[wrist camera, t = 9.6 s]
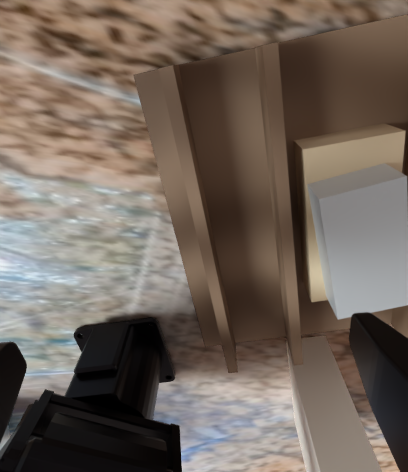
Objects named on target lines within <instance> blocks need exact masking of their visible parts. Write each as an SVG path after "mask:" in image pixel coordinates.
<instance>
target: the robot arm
mask: <svg viewBox="0 0 408 472" xmlns="http://www.w3.org/2000/svg"><path fill="white" fill-rule="evenodd" d="M149 324H152V325H153V326H152V325H149ZM81 334H82V335H81ZM74 338H75V340H76V342H77V344H78V346H79V348H80V350H81V352H82V354H81V356H80V358H79V360H78V362H77V365H76V367H75V369H74V373H75V374H74V376H73V378H72V381H71V383H70V385H69V388H68V390H67V392H66V394H65V396H62V395H58V394H54V392H53V391H50V390H46V389H45V391H44V392H43V394H42V396H41V397H40V399H39V401H38V400H36V401H35V402H34V404H31V405H29V406H28V408H27V410H26V411H25V413H24V415H23V417H22V419H21V421H20V423H19V424H18V426H17V428H16V429H15V431H14V433H13V434H12V435H11V437H10V438H9V439H8V441H7V442H6V443H5V445H4V446H3V447H2V449H1V450H0V472H182V466H181V447H180V428H179V425H175V424H172V423H171V424H170V425H169V424H166V423H162V422H158V421H154V420H153V415H154V409H155V403H156V397H157V391H158V385H159V383H162V382H170V381H173V380H174V379H175V371H174V368H173V365H172V362H171V359H170V356H169V353H168V350H167V347H166V344H165V341H164V338H163V335H162V332H161V329H160V326H159V323H158V321H157V320H156V319H154V318H145V319H138V320H131V321H123V322H116V323H109V324H102V325H94V326H87V327H80V328H77V329H76V331H75V333H74ZM349 341H350V346H351V349H352V352H353V355H354V358H355V361H356V365H357V368H358V371H359V374H360V377H361V380H362V383H363V386H364V389H365V392H366V395H367V398H368V400H369V403H370V406H371V408H372V411H373V413H374V415H375V418H376V420H377V422H378V424H379V426H380V429H381V431H382V433H383V435H384V437H385V439H386V442H387V444H388V446H389V448H390V450H391V453H392V455H393V457H394V459H395V461H396V464H397V466H398V468H399V470H400V472H408V338H407V337H406V336H404V335H403V334H401V333H400V332H398V331H397V330H395V329H394V328H392V327H391V326H389V325H388V324H387V323H385V322H384V321H382V320H381V319H379V318H378V317H376V316H375V315H373V314H372V313H370V312H361V313H354V314H352V316H351V323H350V334H349ZM26 368H27V364H26V361H25V359H24V357H23V355H22V354H21V352H20V350H19V348H18V346H17V345H16V344H15V343H14V342H1V343H0V443H1V440H2V438H3V436H4V433H5V431H6V428H7V426H8V423H9V420H10V418H11V415H12V412H13V409H14V406H15V403H16V400H17V397H18V394H19V391H20V388H21V385H22V382H23V379H24V376H25V373H26Z"/></svg>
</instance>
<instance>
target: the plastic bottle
mask: <svg viewBox="0 0 408 472" xmlns="http://www.w3.org/2000/svg"><path fill="white" fill-rule="evenodd" d="M9 438H10V430H9V426H7V428H6V431H5V433H4V436H3V438H2V440H1V443H0V450H1V449H2V447H3V446H4V445H5V443H6V442H7V441H8V439H9Z"/></svg>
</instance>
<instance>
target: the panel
mask: <svg viewBox="0 0 408 472" xmlns="http://www.w3.org/2000/svg"><path fill="white" fill-rule="evenodd" d="M301 341H302V354H303V365H295V366H294V365H293V361H292V357H291V353H290V350H289V346H288V342H287V340H286V348H287V357H288V366H289V375H290V384H291V393H292V402H293V411H294V419H295V424H296V429H297V433H298V437H299V442H300V446H301V450H302V455H303V459H304V463H305V468H306V472H382V471H381V468H380V466H379V463H378V461H377V458H376V456H375V454H374V451H373V449H372V446H371V444H370V442H369V439H368V437H367V434H366V432H365V430H364V427H363V425H362V422H361V420H360V418H359V415H358V413H357V410H356V408H355V406H354V403H353V401H352V398H351V396H350V394H349V391H348V389H347V386H346V384H345V382H344V379H343V377H342V374H341V372H340V370H339V367H338V365H337V362H336V360H335V358H334V355H333V353H332V350H331V348H330V345H329V343H328V341H327V338H326V336H325V335H324V336H316V337H308V338H301Z"/></svg>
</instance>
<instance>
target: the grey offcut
mask: <svg viewBox="0 0 408 472" xmlns="http://www.w3.org/2000/svg"><path fill="white" fill-rule="evenodd" d="M307 186H308V192H309V198H310V204H311V210H312V216H313V221H314V227H315V233H316V239H317V245H318V251H319V257H320V263H321V269H322V275H323V281H324V286H325V292H326V297H327V299H328V301H329V303H330V305H331V307H332V309H333V311H334V313H335V315H336V317H337V319H338V320H339V319H343V318H348V317H351V316H352V314H354V313H361V312H370V313H372V312H377V311H382V310H387V309H392V308H397V307H402V306H406V305H408V192H407V176H406V175H404V174H403V173H401V172H399V171H397V170H396V169H394V168H392V167H391V166H389V165H387V164H385V163H383V164H380V165H376V166H372V167H369V168H365V169H361V170H358V171H354V172H350V173H347V174H343V175H339V176H336V177H332V178H328V179H325V180H321V181H317V182H314V183H310V184H307Z"/></svg>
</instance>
